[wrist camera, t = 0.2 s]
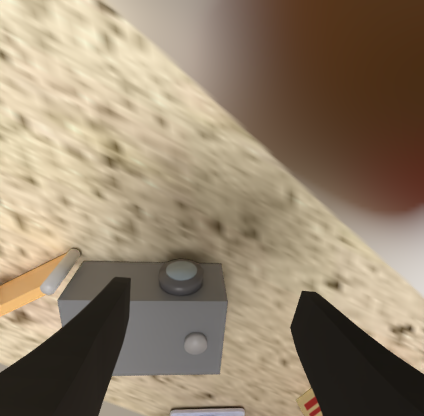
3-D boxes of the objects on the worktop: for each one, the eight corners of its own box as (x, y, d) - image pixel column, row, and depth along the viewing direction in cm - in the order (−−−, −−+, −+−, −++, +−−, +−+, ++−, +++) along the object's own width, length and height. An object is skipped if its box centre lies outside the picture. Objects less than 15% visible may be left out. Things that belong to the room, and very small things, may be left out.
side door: (4, 294, 22) (-37, 336, 18) (-9, 281, 21) (-54, 322, 18) (82, 255, 21) (58, 291, 17) (71, 241, 21) (43, 275, 17)
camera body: (215, 328, 25) (220, 380, 20) (90, 328, 24) (66, 382, 19) (222, 252, 22) (230, 293, 17) (80, 249, 21) (49, 291, 17)
